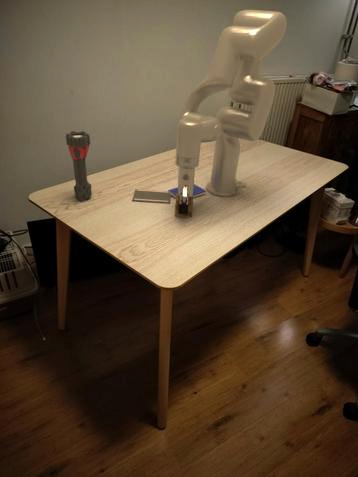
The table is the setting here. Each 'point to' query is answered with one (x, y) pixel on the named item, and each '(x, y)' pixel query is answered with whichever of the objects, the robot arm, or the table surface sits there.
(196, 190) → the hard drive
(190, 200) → the cube
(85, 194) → the flashlight
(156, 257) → the table surface
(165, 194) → the mat
